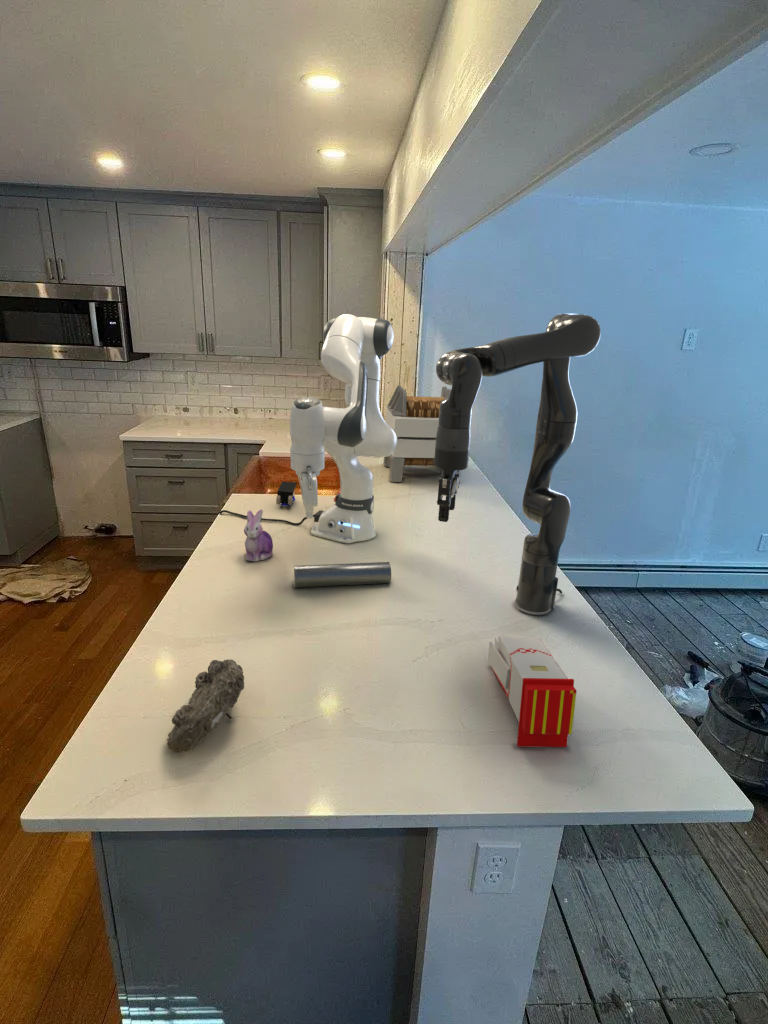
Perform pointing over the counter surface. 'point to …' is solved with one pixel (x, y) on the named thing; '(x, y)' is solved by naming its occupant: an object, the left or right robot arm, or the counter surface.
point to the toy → (534, 690)
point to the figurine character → (286, 494)
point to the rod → (342, 574)
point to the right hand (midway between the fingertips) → (446, 515)
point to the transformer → (413, 430)
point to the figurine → (257, 538)
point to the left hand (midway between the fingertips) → (308, 511)
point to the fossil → (206, 705)
